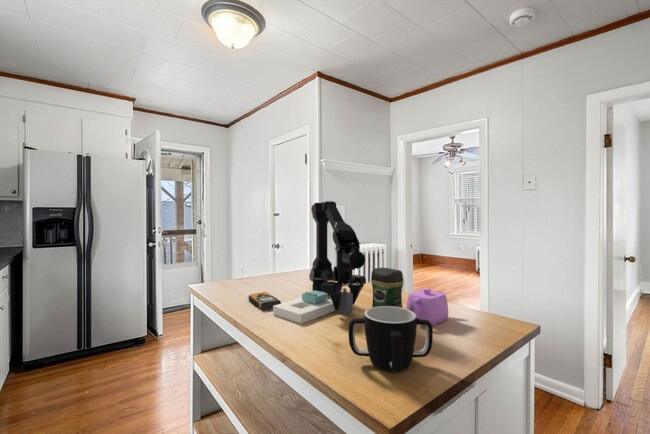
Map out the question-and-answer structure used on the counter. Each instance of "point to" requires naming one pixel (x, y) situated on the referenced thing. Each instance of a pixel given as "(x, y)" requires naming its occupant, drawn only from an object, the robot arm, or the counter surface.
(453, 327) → the counter surface
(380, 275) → the coffee jar
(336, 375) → the counter surface
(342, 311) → the plug
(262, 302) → the electronic device
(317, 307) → the socket plate
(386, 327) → the mug
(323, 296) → the block
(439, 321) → the teapot
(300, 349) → the counter surface
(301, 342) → the counter surface
